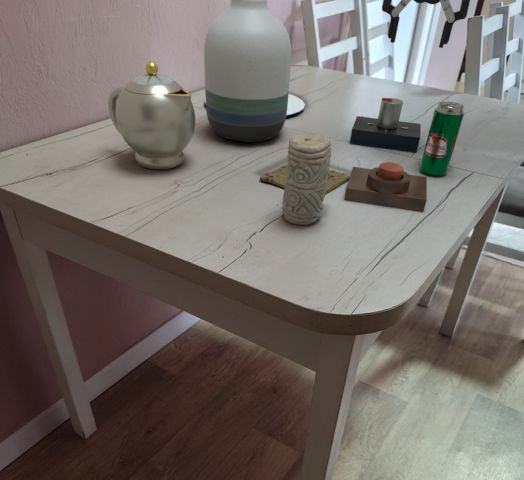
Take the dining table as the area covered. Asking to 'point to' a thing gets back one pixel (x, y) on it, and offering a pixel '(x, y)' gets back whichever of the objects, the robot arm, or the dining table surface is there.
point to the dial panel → (385, 135)
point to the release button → (390, 171)
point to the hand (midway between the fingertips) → (416, 44)
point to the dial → (389, 113)
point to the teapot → (153, 118)
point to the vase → (247, 72)
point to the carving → (306, 178)
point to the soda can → (442, 138)
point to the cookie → (280, 174)
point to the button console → (387, 190)
